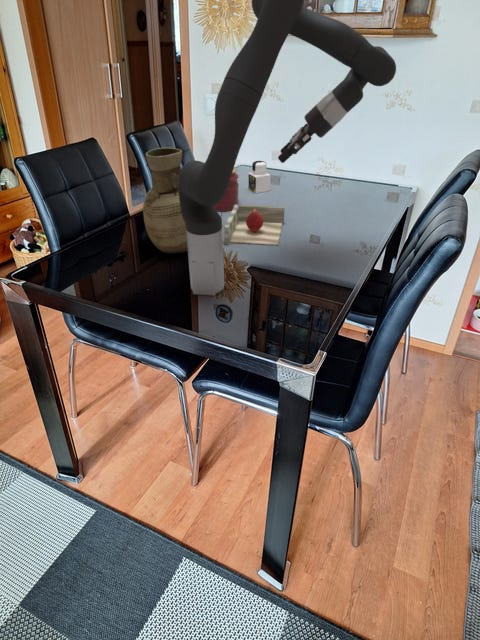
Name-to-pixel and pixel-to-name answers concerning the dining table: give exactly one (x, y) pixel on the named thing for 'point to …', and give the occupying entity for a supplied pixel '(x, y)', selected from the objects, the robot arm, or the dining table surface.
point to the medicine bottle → (259, 177)
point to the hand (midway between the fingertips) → (281, 156)
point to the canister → (229, 195)
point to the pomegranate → (254, 221)
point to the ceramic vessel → (165, 202)
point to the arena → (265, 235)
